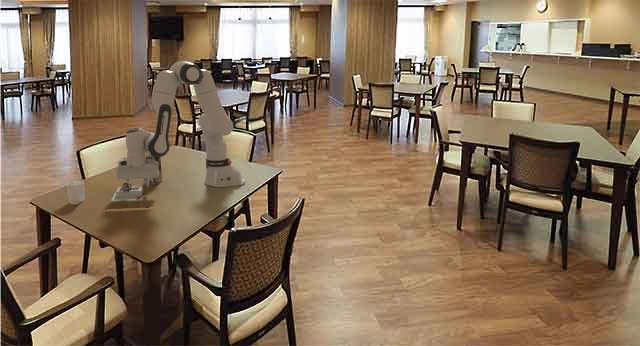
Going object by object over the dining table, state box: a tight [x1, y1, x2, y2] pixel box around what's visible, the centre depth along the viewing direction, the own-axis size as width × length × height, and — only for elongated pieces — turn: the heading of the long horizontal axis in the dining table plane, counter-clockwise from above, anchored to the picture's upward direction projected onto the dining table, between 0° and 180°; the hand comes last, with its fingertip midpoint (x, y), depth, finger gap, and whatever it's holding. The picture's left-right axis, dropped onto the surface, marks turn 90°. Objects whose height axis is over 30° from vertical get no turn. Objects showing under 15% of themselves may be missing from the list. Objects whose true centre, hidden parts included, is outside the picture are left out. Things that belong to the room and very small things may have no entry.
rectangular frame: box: [115, 185, 144, 198], centre depth 258 cm, size 12×8×3 cm, turn 102°
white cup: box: [65, 180, 86, 205], centre depth 247 cm, size 8×8×10 cm
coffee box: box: [142, 153, 163, 185], centre depth 278 cm, size 9×6×16 cm
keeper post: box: [121, 181, 129, 191], centre depth 258 cm, size 3×3×6 cm
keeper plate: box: [110, 189, 138, 202], centre depth 259 cm, size 12×18×1 cm, turn 12°
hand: (138, 186), depth 259 cm, fingers open, 7 cm apart
